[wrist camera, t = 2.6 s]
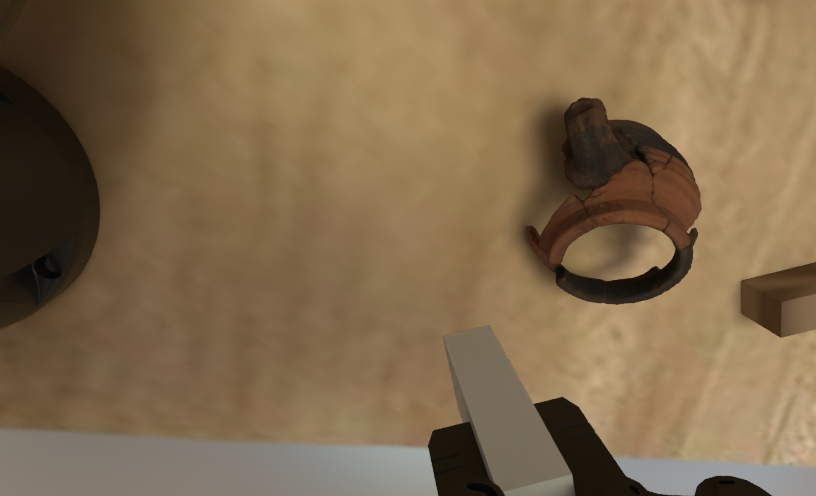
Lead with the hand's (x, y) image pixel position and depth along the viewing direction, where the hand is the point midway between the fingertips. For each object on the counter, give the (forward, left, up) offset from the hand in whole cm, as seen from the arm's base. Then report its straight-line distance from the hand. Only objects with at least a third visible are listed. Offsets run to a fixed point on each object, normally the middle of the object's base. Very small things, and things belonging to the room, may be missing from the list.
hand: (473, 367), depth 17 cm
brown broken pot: (+11, 0, -17) cm, 20 cm away
